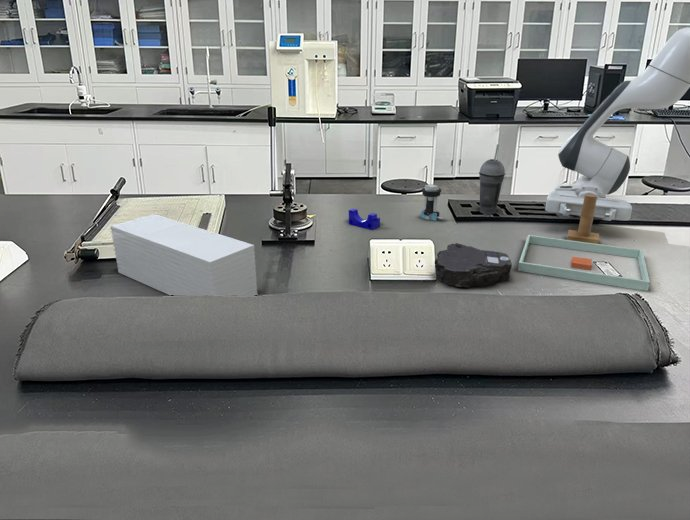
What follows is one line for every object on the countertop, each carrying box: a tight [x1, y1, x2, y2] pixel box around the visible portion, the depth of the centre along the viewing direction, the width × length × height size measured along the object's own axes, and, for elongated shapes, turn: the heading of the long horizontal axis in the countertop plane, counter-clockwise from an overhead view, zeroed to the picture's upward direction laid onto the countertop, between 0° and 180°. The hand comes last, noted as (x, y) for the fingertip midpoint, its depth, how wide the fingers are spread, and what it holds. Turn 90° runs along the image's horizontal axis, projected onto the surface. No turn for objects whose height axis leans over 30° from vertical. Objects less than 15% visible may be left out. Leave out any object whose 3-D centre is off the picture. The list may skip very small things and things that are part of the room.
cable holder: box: [348, 208, 381, 231], centre depth 145 cm, size 8×4×4 cm, turn 52°
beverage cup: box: [478, 143, 506, 215], centre depth 153 cm, size 7×7×20 cm
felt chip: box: [570, 256, 593, 271], centre depth 118 cm, size 4×4×1 cm
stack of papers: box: [110, 213, 258, 297], centre depth 109 cm, size 32×11×11 cm, turn 53°
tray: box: [517, 234, 651, 292], centre depth 119 cm, size 25×19×3 cm
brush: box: [566, 194, 600, 244], centre depth 129 cm, size 7×5×13 cm
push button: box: [420, 183, 444, 222], centre depth 147 cm, size 7×5×10 cm
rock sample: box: [434, 242, 513, 289], centre depth 114 cm, size 18×16×5 cm
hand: (587, 215), depth 131 cm, fingers open, 8 cm apart
